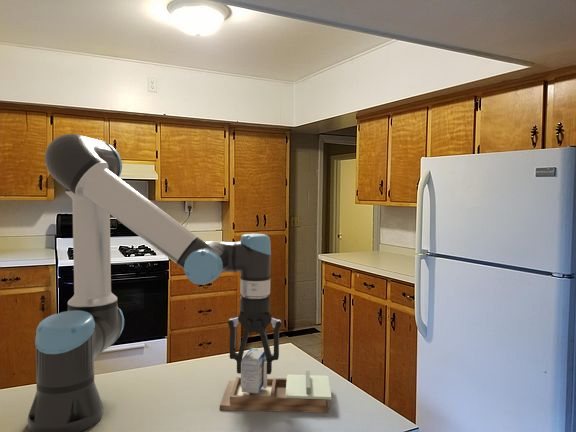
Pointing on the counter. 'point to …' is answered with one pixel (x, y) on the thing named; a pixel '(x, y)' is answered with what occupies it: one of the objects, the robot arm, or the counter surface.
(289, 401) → the brown compartment box
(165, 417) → the counter surface
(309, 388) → the lid
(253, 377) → the medicine box
